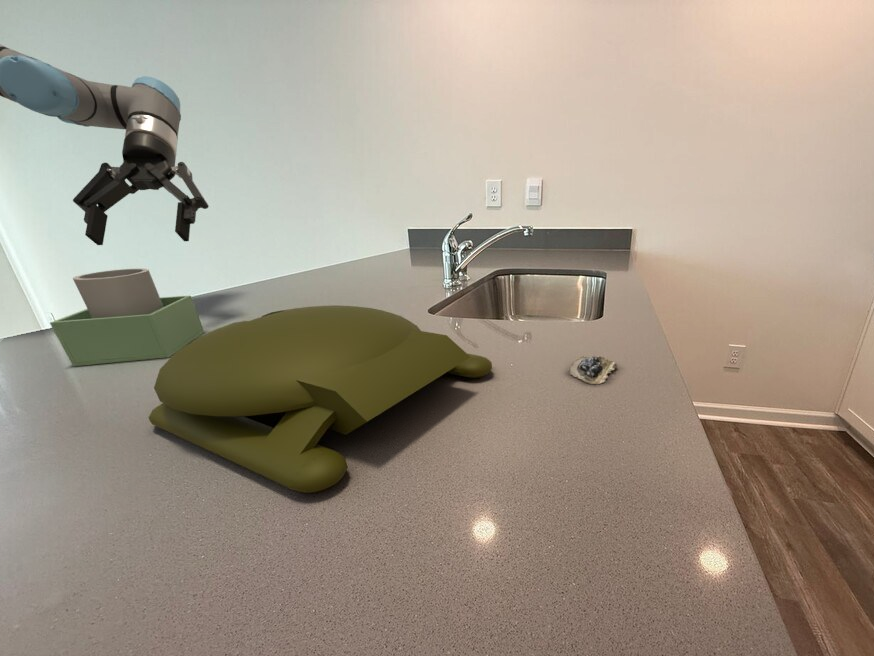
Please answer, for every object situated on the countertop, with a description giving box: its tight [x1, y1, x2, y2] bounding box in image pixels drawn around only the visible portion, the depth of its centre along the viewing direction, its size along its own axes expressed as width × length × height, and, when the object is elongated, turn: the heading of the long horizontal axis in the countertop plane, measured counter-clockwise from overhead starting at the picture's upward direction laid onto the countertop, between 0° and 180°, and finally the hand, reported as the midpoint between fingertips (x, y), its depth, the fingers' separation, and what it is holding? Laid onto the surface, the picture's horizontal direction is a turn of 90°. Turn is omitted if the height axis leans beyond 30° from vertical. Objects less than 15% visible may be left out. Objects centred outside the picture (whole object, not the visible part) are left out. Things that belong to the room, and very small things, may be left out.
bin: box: [49, 295, 205, 367], centre depth 69 cm, size 13×13×7 cm
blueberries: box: [569, 355, 618, 385], centre depth 56 cm, size 7×8×2 cm
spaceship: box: [148, 304, 493, 494], centre depth 51 cm, size 35×31×10 cm
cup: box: [72, 268, 163, 319], centre depth 68 cm, size 9×9×12 cm
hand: (138, 238), depth 72 cm, fingers open, 13 cm apart
